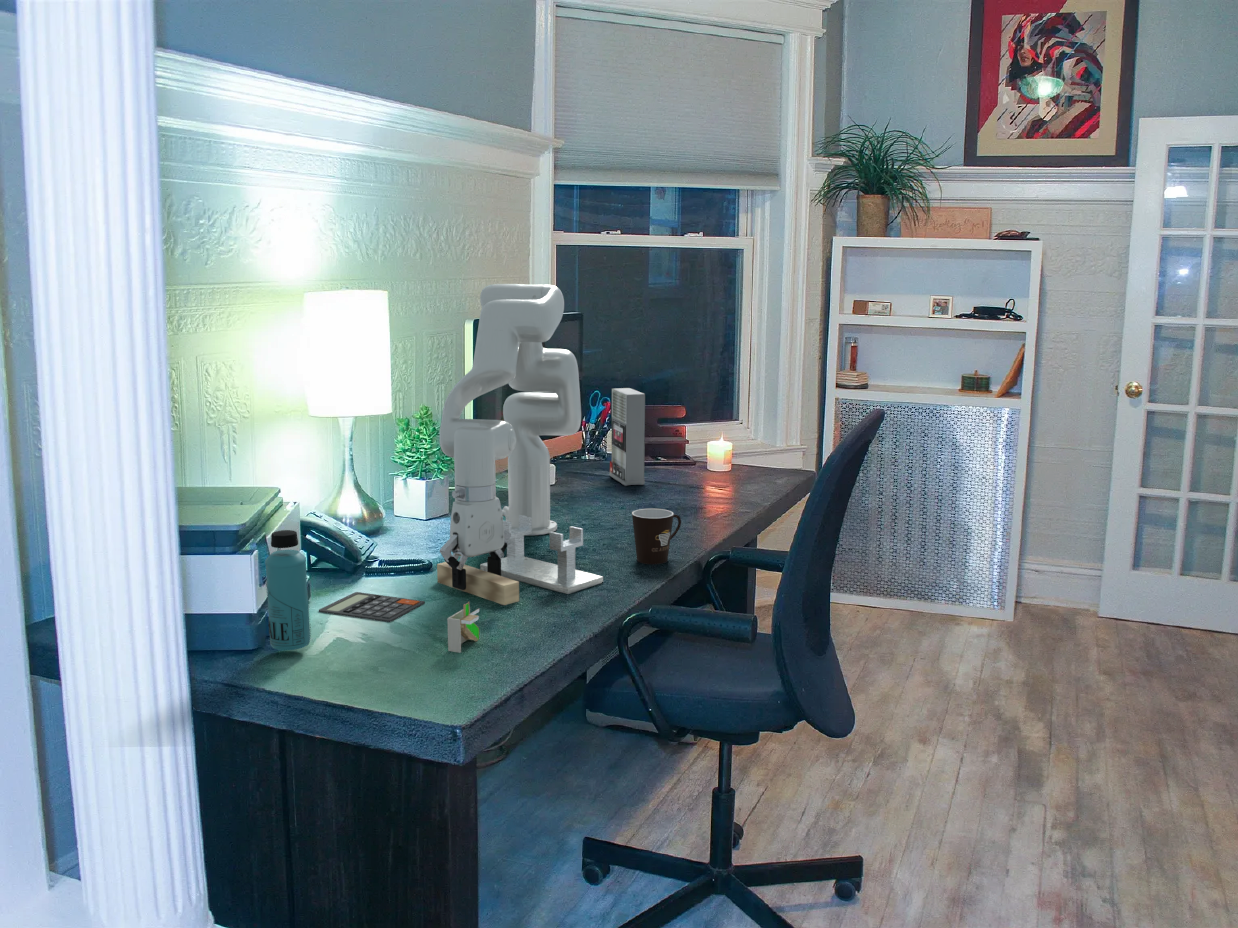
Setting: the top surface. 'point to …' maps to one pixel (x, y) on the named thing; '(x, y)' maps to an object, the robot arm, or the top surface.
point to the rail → (482, 584)
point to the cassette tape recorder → (628, 436)
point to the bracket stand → (544, 572)
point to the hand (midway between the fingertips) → (477, 582)
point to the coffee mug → (653, 534)
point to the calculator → (372, 606)
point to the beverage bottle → (287, 594)
